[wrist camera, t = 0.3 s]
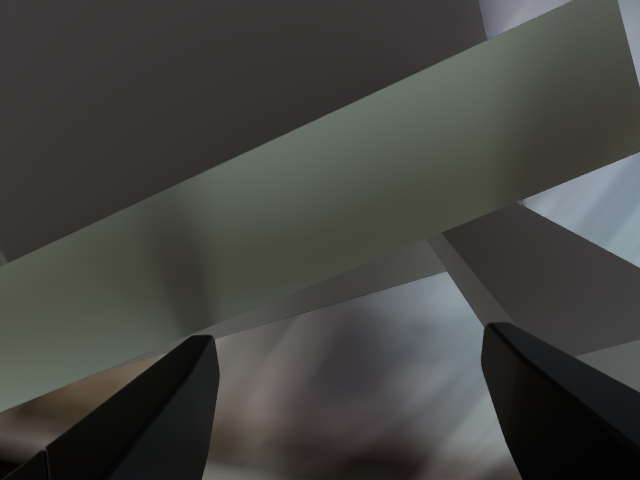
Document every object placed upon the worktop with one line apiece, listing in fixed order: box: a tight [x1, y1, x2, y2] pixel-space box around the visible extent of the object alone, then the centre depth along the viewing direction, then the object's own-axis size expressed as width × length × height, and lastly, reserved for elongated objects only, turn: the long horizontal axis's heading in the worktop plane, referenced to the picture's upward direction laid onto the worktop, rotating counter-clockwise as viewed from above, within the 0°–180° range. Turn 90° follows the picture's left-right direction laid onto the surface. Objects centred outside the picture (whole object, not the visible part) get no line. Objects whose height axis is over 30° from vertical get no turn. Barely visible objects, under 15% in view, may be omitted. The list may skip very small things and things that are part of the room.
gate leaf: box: [0, 0, 640, 412], centre depth 16 cm, size 3×24×14 cm, turn 114°
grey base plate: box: [0, 0, 640, 392], centre depth 16 cm, size 20×32×16 cm, turn 109°
